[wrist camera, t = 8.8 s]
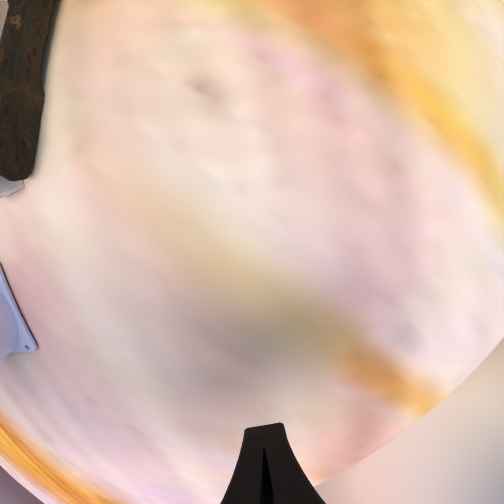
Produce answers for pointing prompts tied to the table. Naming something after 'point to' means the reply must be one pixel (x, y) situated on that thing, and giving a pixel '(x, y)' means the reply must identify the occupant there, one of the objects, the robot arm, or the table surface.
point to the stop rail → (3, 186)
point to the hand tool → (21, 84)
